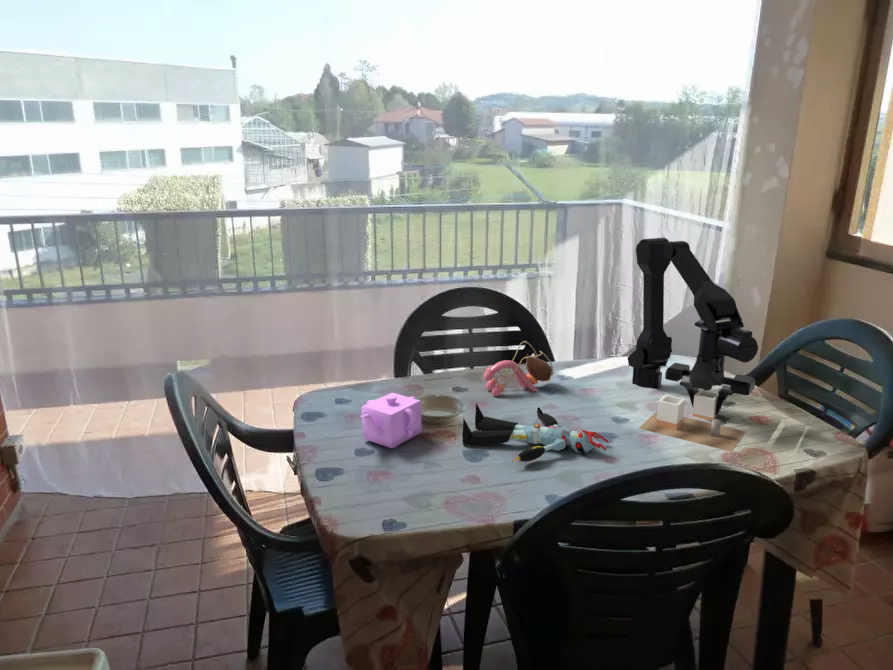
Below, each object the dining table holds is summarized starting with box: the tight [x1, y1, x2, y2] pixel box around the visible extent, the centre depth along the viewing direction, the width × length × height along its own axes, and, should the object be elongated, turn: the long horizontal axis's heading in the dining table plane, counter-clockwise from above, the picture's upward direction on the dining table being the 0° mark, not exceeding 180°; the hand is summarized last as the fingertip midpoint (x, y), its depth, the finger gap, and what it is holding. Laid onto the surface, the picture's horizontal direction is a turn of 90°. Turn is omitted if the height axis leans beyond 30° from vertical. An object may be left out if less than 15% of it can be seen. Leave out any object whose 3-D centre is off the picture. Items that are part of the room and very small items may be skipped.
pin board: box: [638, 411, 747, 453], centre depth 148 cm, size 20×12×5 cm, turn 53°
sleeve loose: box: [691, 388, 719, 422], centre depth 156 cm, size 5×5×6 cm
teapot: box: [359, 392, 423, 449], centre depth 147 cm, size 18×14×10 cm
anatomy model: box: [483, 340, 555, 397], centre depth 175 cm, size 11×15×17 cm
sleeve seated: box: [656, 394, 686, 430], centre depth 151 cm, size 5×5×6 cm
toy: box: [461, 402, 610, 463], centre depth 145 cm, size 26×8×30 cm
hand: (705, 412), depth 156 cm, fingers closed on sleeve loose, 5 cm apart
